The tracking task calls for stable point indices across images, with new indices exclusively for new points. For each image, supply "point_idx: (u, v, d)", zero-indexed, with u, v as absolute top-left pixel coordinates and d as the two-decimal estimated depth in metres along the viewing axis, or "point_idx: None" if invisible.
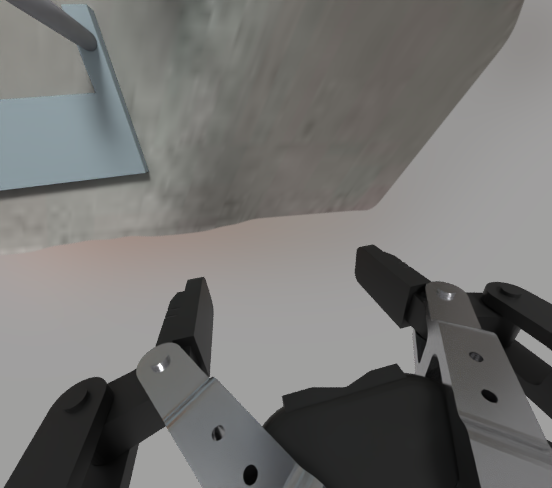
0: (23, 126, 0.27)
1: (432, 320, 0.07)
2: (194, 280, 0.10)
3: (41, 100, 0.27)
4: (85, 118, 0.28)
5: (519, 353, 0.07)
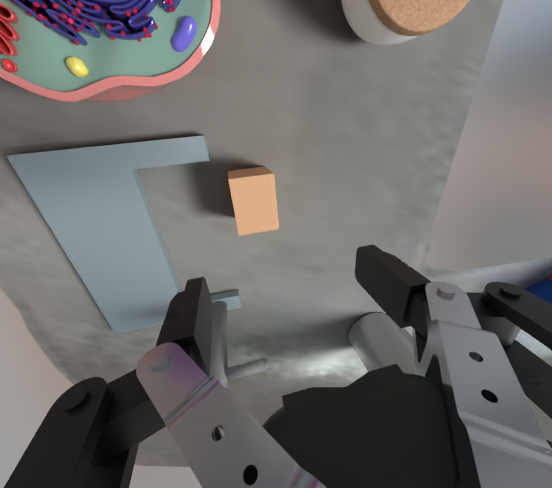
0: (136, 253, 0.27)
1: (432, 320, 0.07)
2: (194, 280, 0.10)
3: (166, 271, 0.29)
4: (159, 298, 0.30)
5: (519, 353, 0.07)
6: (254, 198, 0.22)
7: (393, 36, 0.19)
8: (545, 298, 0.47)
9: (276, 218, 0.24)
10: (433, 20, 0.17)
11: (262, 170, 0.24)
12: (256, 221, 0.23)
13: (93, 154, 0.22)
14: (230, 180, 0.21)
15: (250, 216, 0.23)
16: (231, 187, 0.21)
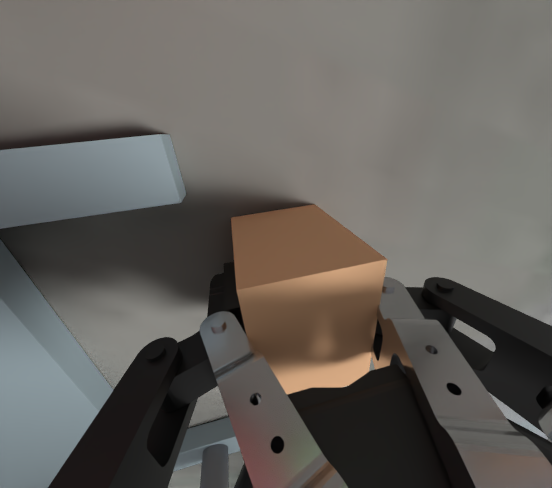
0: (21, 405, 0.12)
1: (384, 318, 0.07)
2: (230, 263, 0.11)
3: None
4: None
5: (458, 340, 0.08)
6: (316, 328, 0.07)
7: None
8: None
9: (366, 361, 0.09)
10: None
11: (325, 228, 0.09)
12: (313, 376, 0.08)
13: None
14: (244, 292, 0.06)
15: (299, 369, 0.08)
16: (246, 310, 0.06)
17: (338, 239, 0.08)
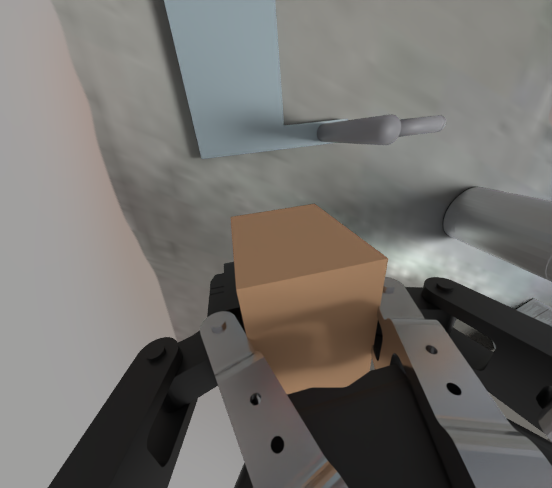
0: (246, 15, 0.21)
1: (384, 318, 0.07)
2: (230, 263, 0.11)
3: (275, 57, 0.23)
4: (259, 104, 0.24)
5: (458, 340, 0.08)
6: (316, 328, 0.07)
7: None
8: None
9: (366, 361, 0.09)
10: None
11: (325, 227, 0.09)
12: (313, 376, 0.08)
13: None
14: (243, 292, 0.06)
15: (299, 369, 0.08)
16: (246, 310, 0.06)
17: (338, 238, 0.08)
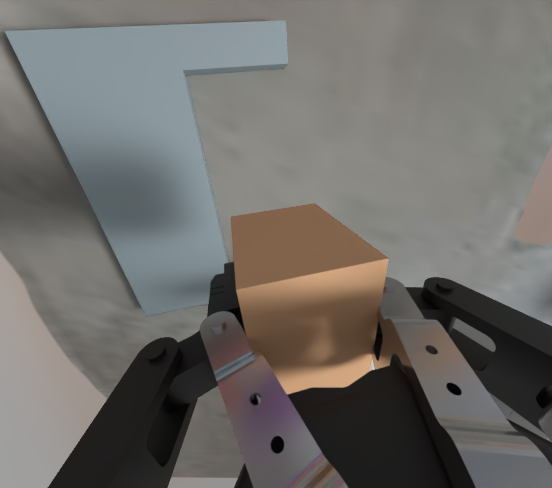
0: (180, 202, 0.20)
1: (384, 318, 0.07)
2: (230, 263, 0.11)
3: (215, 230, 0.22)
4: (203, 267, 0.23)
5: (458, 340, 0.08)
6: (316, 328, 0.07)
7: None
8: None
9: (367, 362, 0.09)
10: None
11: (326, 227, 0.09)
12: (313, 376, 0.08)
13: (130, 40, 0.15)
14: (243, 292, 0.06)
15: (299, 369, 0.08)
16: (246, 310, 0.06)
17: (339, 238, 0.08)
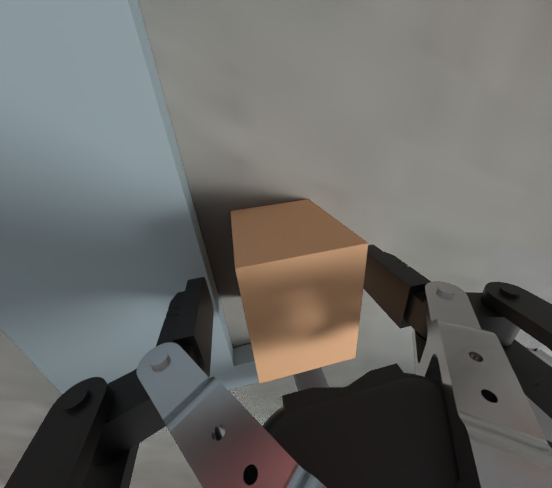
0: (136, 256, 0.10)
1: (432, 320, 0.07)
2: (194, 280, 0.10)
3: None
4: None
5: (519, 353, 0.07)
6: (306, 306, 0.08)
7: None
8: None
9: (353, 340, 0.10)
10: None
11: (316, 218, 0.10)
12: (305, 352, 0.09)
13: None
14: (241, 270, 0.07)
15: (291, 345, 0.09)
16: (244, 288, 0.07)
17: (327, 227, 0.09)
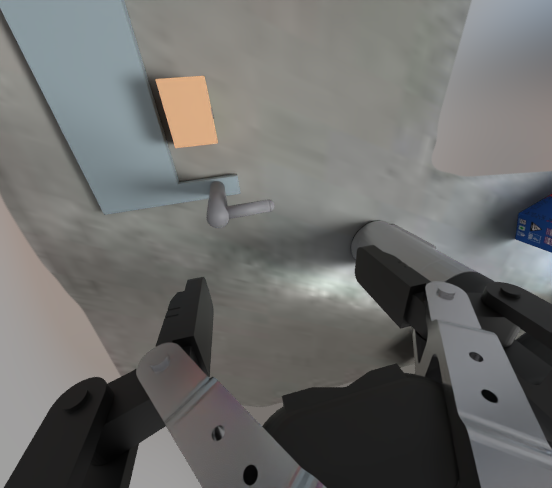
0: (123, 101, 0.24)
1: (432, 320, 0.07)
2: (194, 280, 0.10)
3: (158, 132, 0.26)
4: (150, 168, 0.28)
5: (519, 353, 0.07)
6: (186, 104, 0.22)
7: None
8: (547, 212, 0.47)
9: (213, 130, 0.23)
10: None
11: None
12: (192, 132, 0.23)
13: None
14: (157, 80, 0.21)
15: (185, 126, 0.23)
16: (160, 89, 0.21)
17: None
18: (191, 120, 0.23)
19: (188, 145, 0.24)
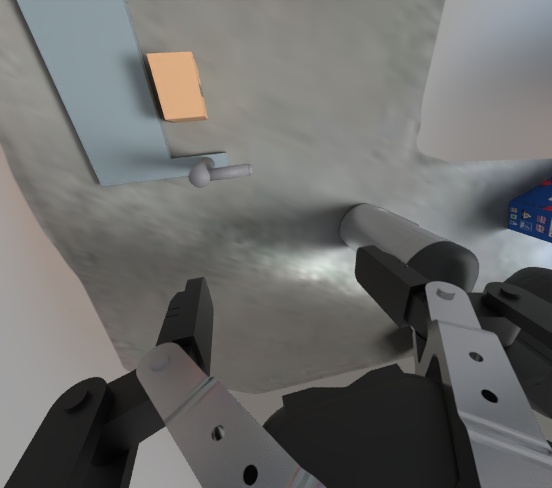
0: (120, 78, 0.26)
1: (432, 320, 0.07)
2: (194, 280, 0.10)
3: (151, 108, 0.28)
4: (144, 143, 0.30)
5: (519, 353, 0.07)
6: (175, 78, 0.24)
7: None
8: (538, 200, 0.47)
9: (200, 103, 0.26)
10: None
11: None
12: (180, 104, 0.25)
13: None
14: (148, 55, 0.23)
15: (174, 99, 0.25)
16: (150, 63, 0.23)
17: None
18: (179, 93, 0.25)
19: (177, 117, 0.26)
